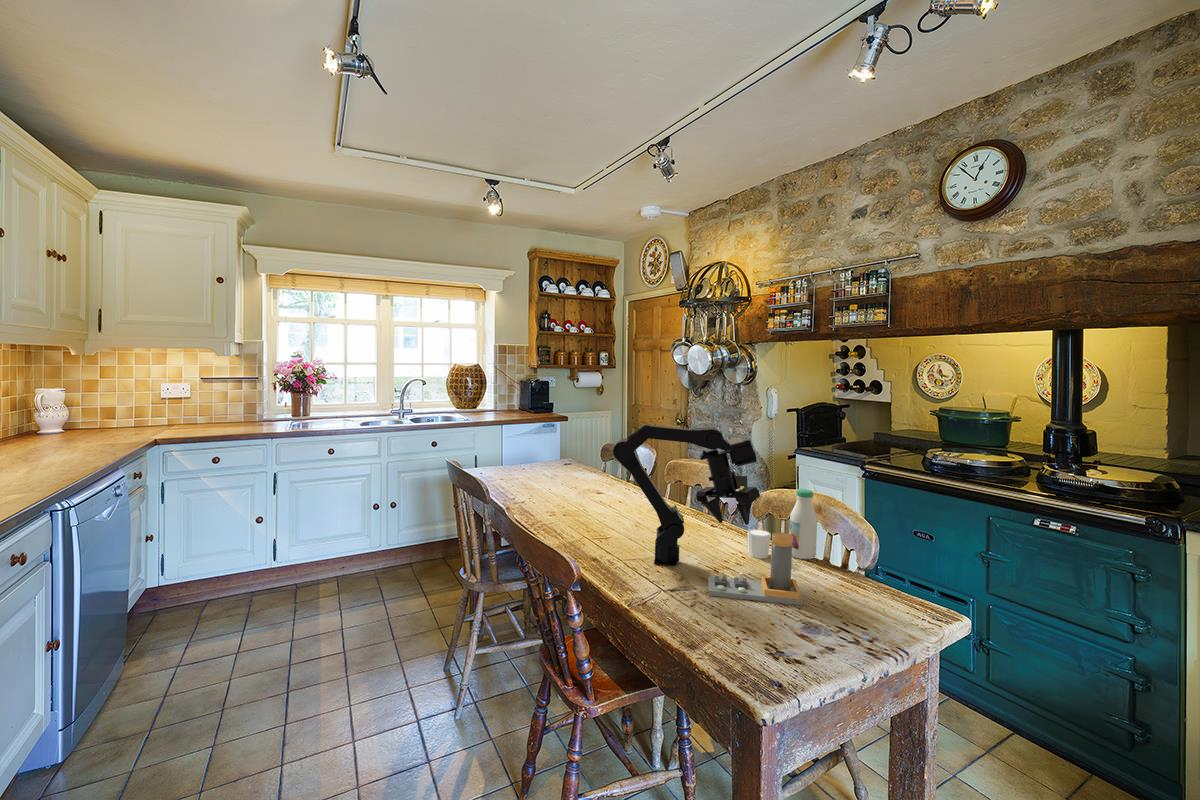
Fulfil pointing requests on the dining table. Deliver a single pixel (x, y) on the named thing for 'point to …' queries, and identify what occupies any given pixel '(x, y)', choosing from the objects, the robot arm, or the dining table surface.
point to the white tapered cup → (758, 543)
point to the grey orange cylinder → (781, 561)
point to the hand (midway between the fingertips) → (734, 523)
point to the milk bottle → (803, 526)
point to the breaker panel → (752, 589)
